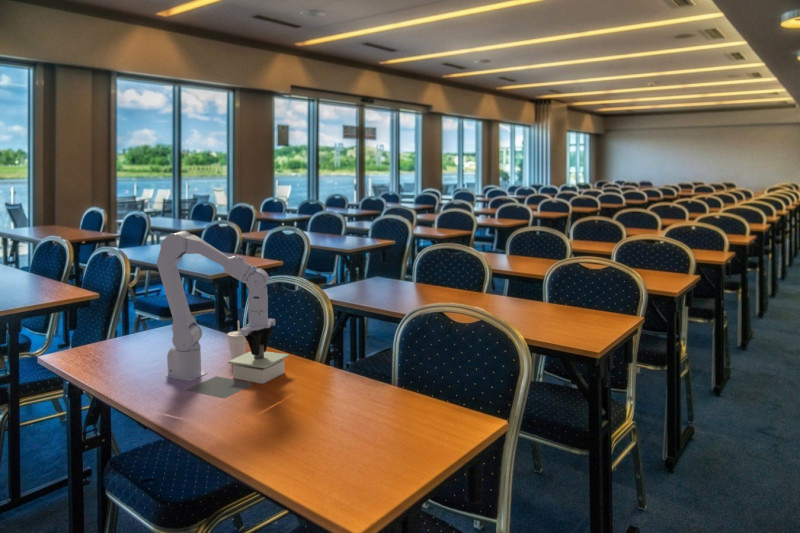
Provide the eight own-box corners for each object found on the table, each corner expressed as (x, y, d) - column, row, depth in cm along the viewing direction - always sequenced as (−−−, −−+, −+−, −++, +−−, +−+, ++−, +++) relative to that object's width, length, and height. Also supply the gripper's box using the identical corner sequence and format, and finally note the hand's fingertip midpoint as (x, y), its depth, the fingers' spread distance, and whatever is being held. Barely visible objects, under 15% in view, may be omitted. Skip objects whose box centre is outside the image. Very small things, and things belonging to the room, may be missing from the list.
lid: (228, 363, 179) (227, 348, 178) (253, 351, 191) (253, 337, 190) (265, 368, 174) (264, 353, 174) (288, 356, 186) (288, 341, 186)
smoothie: (242, 365, 193) (241, 323, 191) (224, 364, 195) (223, 322, 192) (251, 359, 199) (250, 319, 197) (233, 358, 201) (232, 317, 199)
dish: (232, 379, 181) (232, 365, 180) (255, 368, 190) (255, 355, 190) (262, 385, 176) (262, 370, 175) (284, 374, 186) (284, 360, 185)
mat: (185, 391, 170) (185, 389, 170) (216, 377, 182) (216, 376, 182) (224, 399, 165) (224, 398, 164) (253, 384, 176) (253, 383, 176)
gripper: (253, 316, 172) (254, 361, 174) (283, 306, 185) (283, 348, 187) (234, 313, 175) (235, 358, 177) (264, 304, 188) (265, 345, 190)
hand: (258, 353), depth 182 cm, fingers closed on lid, 3 cm apart
